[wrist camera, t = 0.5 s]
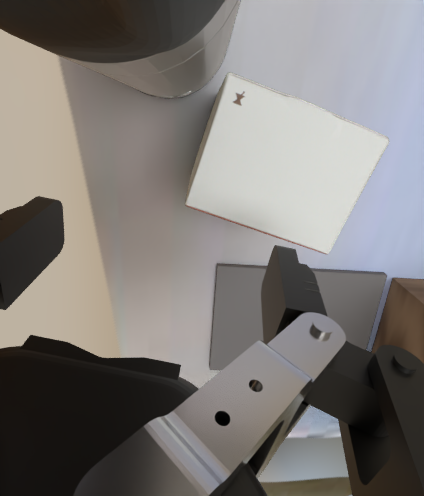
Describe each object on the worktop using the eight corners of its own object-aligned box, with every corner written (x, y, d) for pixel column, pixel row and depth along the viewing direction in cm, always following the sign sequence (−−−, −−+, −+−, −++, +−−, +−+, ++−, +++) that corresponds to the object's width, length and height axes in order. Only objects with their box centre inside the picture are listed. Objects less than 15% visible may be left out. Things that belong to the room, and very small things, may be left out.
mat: (217, 263, 31) (217, 266, 31) (383, 272, 32) (387, 275, 31) (209, 365, 36) (209, 369, 35) (356, 372, 36) (358, 376, 36)
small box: (192, 168, 28) (179, 206, 16) (218, 91, 26) (226, 65, 14) (279, 200, 29) (330, 258, 17) (311, 128, 27) (395, 135, 15)
